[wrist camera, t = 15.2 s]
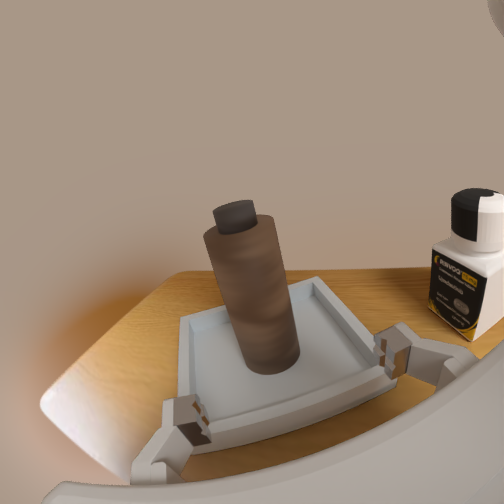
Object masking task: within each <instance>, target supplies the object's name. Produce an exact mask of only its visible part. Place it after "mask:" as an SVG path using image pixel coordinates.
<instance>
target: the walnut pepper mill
mask: <svg viewBox="0 0 504 504" xmlns="http://www.w3.org/2000/svg"><path fill="white" fill-rule="evenodd" d="M213 215H214V218H215V222H216V226H214V227H212V228H211V229H209V230H208V231H207V232H205V234H204V236H203V238H204V241H205V244H206V248H207V251H208V254H209V257H210V260H211V263H212V266H213V270H214V273H215V276H216V279H217V282H218V285H219V288H220V291H221V294H222V297H223V300H224V303H225V306H226V309H227V312H228V315H229V318H230V321H231V324H232V327H233V330H234V332H235V335H236V338H237V341H238V344H239V347H240V349H241V352H242V355H243V358H244V361H245V363H246V366H247V367H248V368H249V369H250V370H251V371H253V372H254V373H257V374H261V375H273V374H278V373H281V372H284V371H286V370H287V369H289V368H290V367H292V366H293V365H294V364H295V363H296V362H297V360H298V358H299V356H300V346H299V341H298V336H297V330H296V325H295V320H294V315H293V310H292V305H291V300H290V295H289V290H288V285H287V280H286V275H285V270H284V265H283V261H282V256H281V251H280V247H279V242H278V237H277V232H276V228H275V223H274V219H273V217H271V216H268V215H256V212H255V208H254V204H253V201H252V200H242V201H236V202H232V203H228V204H225V205H222V206H220V207H218V208H216V209H215V210H213Z"/></svg>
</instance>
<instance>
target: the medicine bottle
mask: <svg viewBox="0 0 504 504" xmlns="http://www.w3.org/2000/svg"><path fill="white" fill-rule="evenodd" d="M428 308H429V309H431V310H432V311H433V312H435V313H436V314H437V315H438V316H440V317H441V318H442V319H443V320H445V321H446V322H447V323H448V324H449V325H451V326H452V327H453V328H454V329H456V330H457V331H458V332H459V333H460V334H462V335H463V336H464V337H465V338H466V339H468V340H469V341H470V342H473V341H474V340H476V339H477V338H478V337H480V336H481V335H482V334H483V333H485V332H486V331H487V330H488V329H490V328H491V327H492V326H493V325H494V324H496V323H497V322H498V321H499V320H500V319H501V318H503V317H504V196H503V195H502V194H500V193H498V192H496V191H493V190H488V189H480V188H471V189H465V190H462V191H460V192H458V193H456V194H454V196H453V197H452V199H451V237H450V238H448V239H446V240H444V241H441V242H439V243H436V244H434V245H433V247H432V265H431V280H430V291H429V301H428Z"/></svg>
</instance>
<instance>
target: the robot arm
mask: <svg viewBox="0 0 504 504" xmlns="http://www.w3.org/2000/svg"><path fill="white" fill-rule="evenodd" d="M488 7H489V11H490V14H491V17H492V19H493V21H494V23H495V25H496V27H497V28H498V30H499V31H500V33H501V34H502V35H503V36H504V0H488ZM373 341H374V342H375V346H374V347H373V355H374V359H375V360H376V362H377V364H378V365H379V366H381V367H384V372H385V374H386V375H387V376H388V377H389V379H390V380H393V379H395V378H397V377H399V376H401V375H403V374H405V373H406V374H408V375H410V376H412V377H415V378H417V379H420V380H422V381H425V382H427V383H430V384H432V385H435V386H437V387H436V390H435V393H434V394H433V395H431V396H430V397H428V398H427V399H425V400H424V401H422V402H420V403H419V404H417V405H415V406H414V407H412V408H410V409H409V410H407V411H405V412H403V413H402V414H400V415H398V416H396V417H394V418H392V419H391V420H389V421H387V422H385V423H383V424H381V425H379V426H377V427H375V428H373V429H371V430H369V431H367V432H365V433H363V434H360V435H358V436H356V437H354V438H351V439H349V440H347V441H344V442H342V443H340V444H337V445H335V446H332V447H330V448H327V449H325V450H322V451H319V452H316V453H314V454H311V455H308V456H305V457H302V458H299V459H296V460H293V461H289V462H286V463H283V464H279V465H276V466H272V467H268V468H265V469H261V470H257V471H252V472H248V473H243V474H239V475H234V476H228V477H223V478H217V479H211V480H204V481H196V482H188V483H187V482H186V481H185V480H184V479H182V478H181V477H180V474H181V472H182V470H183V468H184V466H185V464H186V462H187V461H188V459H189V457H190V455H191V453H192V451H193V449H194V447H195V446H200V445H205V444H210V443H212V440H211V431H210V430H209V428H208V425H209V424H210V422H209V416H208V413H207V410H206V408H205V406H204V405H203V404H201V403H200V398H199V396H198V395H197V394H192V395H187V396H181V397H175V398H170V399H164V401H163V407H162V427H161V428H158V430H157V431H156V432H155V434H154V435H153V436H152V438H151V439H150V440H149V442H148V443H147V444H146V445H145V447H144V448H143V449H142V451H141V452H140V453H139V455H138V456H137V457H136V458H135V460H134V461H133V462H132V467H131V481H130V485H101V484H88V483H79V482H71V481H63V482H61V483H60V484H58V485H57V486H56V487H55V488H54V489H52V490H51V492H49V493H48V494H47V495H46V496H45V497H44V499H43V501H42V502H41V504H504V339H503V340H502V341H501V342H500V343H499V344H498V345H497V346H496V347H494V348H493V349H492V350H491V351H490V352H489V353H488V354H486V355H485V356H484V357H483V358H482V359H480V360H479V359H478V358H477V357H476V356H475V355H474V354H473V353H471V352H470V351H469V350H468V349H467V348H466V347H463V346H459V345H454V344H449V343H444V342H440V341H435V340H431V339H426V338H424V339H421V338H420V337H419V336H418V335H417V334H416V333H415V332H414V331H412V330H411V329H410V328H409V327H408V326H407V325H406V324H405V323H404V322H399V323H397V324H395V325H393V326H391V327H389V328H387V329H385V330H383V331H381V332H379V333H377V334H375V335H374V339H373Z"/></svg>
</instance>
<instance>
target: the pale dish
mask: <svg viewBox="0 0 504 504" xmlns="http://www.w3.org/2000/svg"><path fill="white" fill-rule="evenodd" d="M288 290H289V295H290V300H291V305H292V310H293V315H294V320H295V325H296V330H297V336H298V341H299V346H300V356H299V358H298V360H297V362H296V363H295V364H294V365H293V366H292V367H290V368H289V369H287V370H286V371H284V372H281V373H278V374H273V375H261V374H257V373H254V372H253V371H251V370H250V369H249V368H248V367H247V366H246V363H245V361H244V358H243V355H242V352H241V349H240V347H239V344H238V341H237V338H236V335H235V332H234V330H233V327H232V324H231V321H230V318H229V315H228V312H227V309H226V306H225V305H222V306H219V307H216V308H212V309H209V310H205V311H201V312H198V313H194V314H191V315H187V316H183V317H180V332H179V356H178V397H181V396H187V395H192V394H197V395H198V396H199V398H200V403H201V404H203V405H204V406H205V408H206V410H207V413H208V416H209V422H210V424H209V425H208V428H209V430H210V431H211V440H212V443H210V444H205V445H200V446H195V447H194V449H193V451H192V453H191V454H192V455H196V454H202V453H208V452H213V451H218V450H223V449H228V448H232V447H237V446H241V445H245V444H249V443H253V442H257V441H261V440H264V439H268V438H271V437H275V436H278V435H281V434H285V433H288V432H291V431H294V430H297V429H300V428H303V427H306V426H309V425H311V424H314V423H317V422H319V421H322V420H325V419H327V418H330V417H332V416H335V415H337V414H339V413H342V412H344V411H347V410H349V409H351V408H353V407H356V406H358V405H360V404H362V403H364V402H366V401H369V400H371V399H373V398H375V397H377V396H379V395H381V394H383V393H385V392H387V391H389V390H391V389H392V388H394V387H396V383H397V378H398V377H397V378H395V379H393V380H390V379H389V377H388V376H387V375H386V374H385V372H384V367H381V366H379V365H378V364H377V362H376V360H375V359H374V355H373V347H374V346H375V342H374V341H373V339H374V336H373V335H372V334H371V333H370V332H369V331H368V330H367V329H366V327H365V326H364V325H363V324H362V323H361V322H360V321H359V320H358V319H357V318H356V317H355V315H354V314H353V313H352V312H351V311H350V310H349V309H348V308H347V307H346V306H345V305H344V304H343V302H342V301H341V300H340V299H339V298H338V297H337V296H336V295H335V294H334V293H333V292H332V291H331V290H330V288H329V287H328V286H327V285H326V284H325V283H324V282H323V281H322V280H321V279H320V278H319V277H318V276H316V277H313V278H310V279H307V280H304V281H301V282H297V283H294V284H291V285H288Z"/></svg>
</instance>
